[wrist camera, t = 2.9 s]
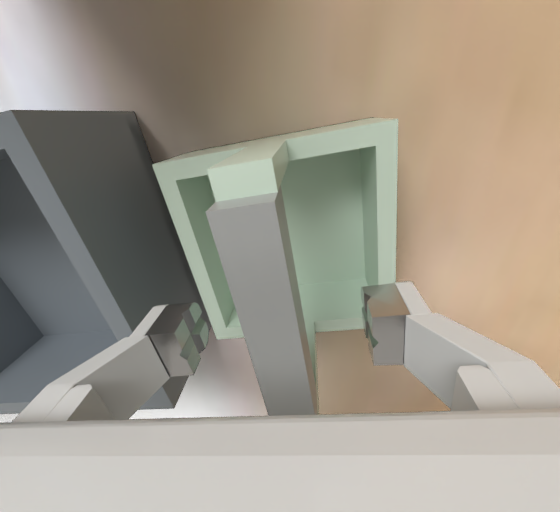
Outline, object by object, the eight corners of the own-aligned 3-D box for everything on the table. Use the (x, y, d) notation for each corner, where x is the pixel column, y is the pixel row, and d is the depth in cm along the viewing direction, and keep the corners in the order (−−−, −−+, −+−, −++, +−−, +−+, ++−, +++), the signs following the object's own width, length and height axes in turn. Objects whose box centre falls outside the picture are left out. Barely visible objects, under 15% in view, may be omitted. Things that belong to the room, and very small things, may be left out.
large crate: (133, 111, 15) (11, 110, 9) (212, 323, 21) (174, 408, 15) (-80, 158, 17) (-297, 184, 11) (50, 337, 24) (-40, 415, 18)
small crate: (371, 117, 14) (493, 124, 5) (375, 280, 18) (443, 443, 9) (191, 151, 16) (29, 204, 6) (234, 294, 20) (174, 445, 11)
